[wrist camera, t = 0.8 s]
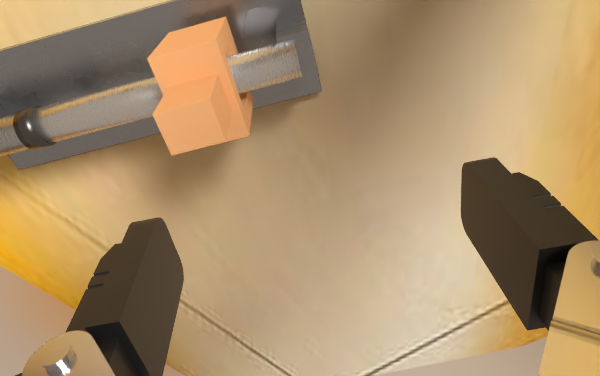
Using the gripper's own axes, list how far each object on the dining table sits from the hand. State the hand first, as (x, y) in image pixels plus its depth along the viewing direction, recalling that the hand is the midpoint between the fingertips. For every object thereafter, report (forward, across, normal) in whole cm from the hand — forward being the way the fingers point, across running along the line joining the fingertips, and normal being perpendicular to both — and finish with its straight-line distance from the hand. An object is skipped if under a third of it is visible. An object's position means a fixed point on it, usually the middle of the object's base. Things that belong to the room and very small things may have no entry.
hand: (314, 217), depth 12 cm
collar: (+21, +5, +1) cm, 22 cm away
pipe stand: (+24, +11, +2) cm, 27 cm away
